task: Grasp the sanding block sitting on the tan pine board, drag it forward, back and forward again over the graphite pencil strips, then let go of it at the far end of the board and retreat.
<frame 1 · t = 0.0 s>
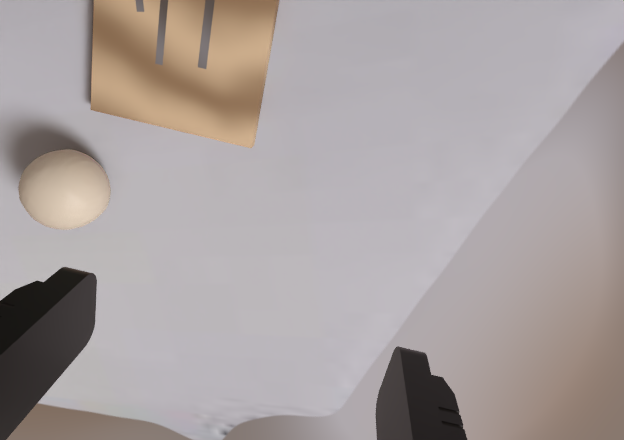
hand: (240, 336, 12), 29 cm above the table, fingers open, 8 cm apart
baseball: (86, 178, 43), on the table
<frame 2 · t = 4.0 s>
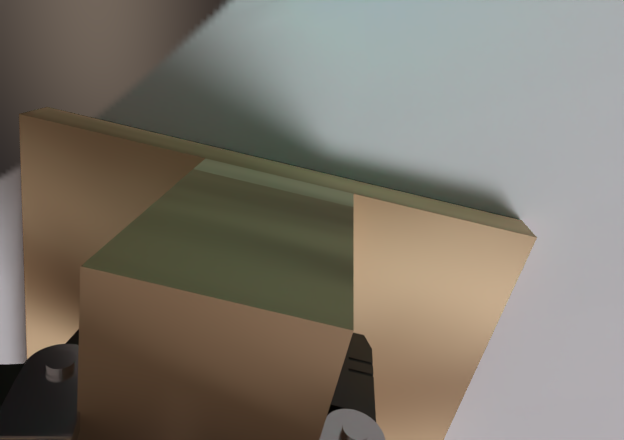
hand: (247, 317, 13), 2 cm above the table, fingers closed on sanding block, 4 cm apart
sanding block: (254, 301, 14), point 1 cm above the table, touching board, gripper
when the fingers open (2 cm above the table, at t = 13.1 s): sanding block stays where it is, resting on board.
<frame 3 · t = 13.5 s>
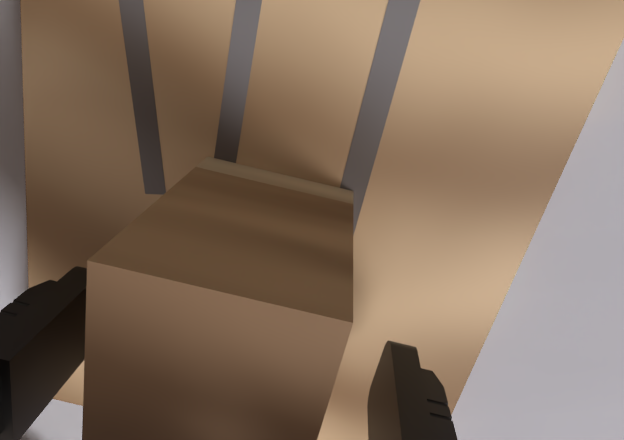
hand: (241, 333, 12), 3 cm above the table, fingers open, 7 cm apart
board: (299, 92, 13), on the table
sanding block: (255, 298, 14), point 1 cm above the table, touching board
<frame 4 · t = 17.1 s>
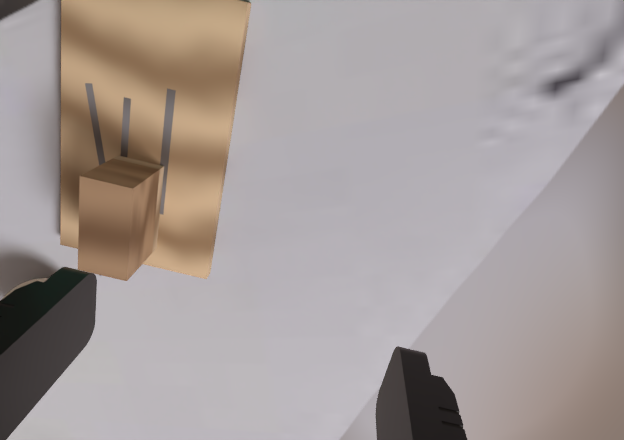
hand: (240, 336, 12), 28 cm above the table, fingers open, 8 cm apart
board: (148, 135, 39), on the table
sanding block: (138, 203, 41), point 1 cm above the table, touching board
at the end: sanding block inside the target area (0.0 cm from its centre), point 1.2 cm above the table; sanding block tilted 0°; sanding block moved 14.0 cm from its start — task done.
